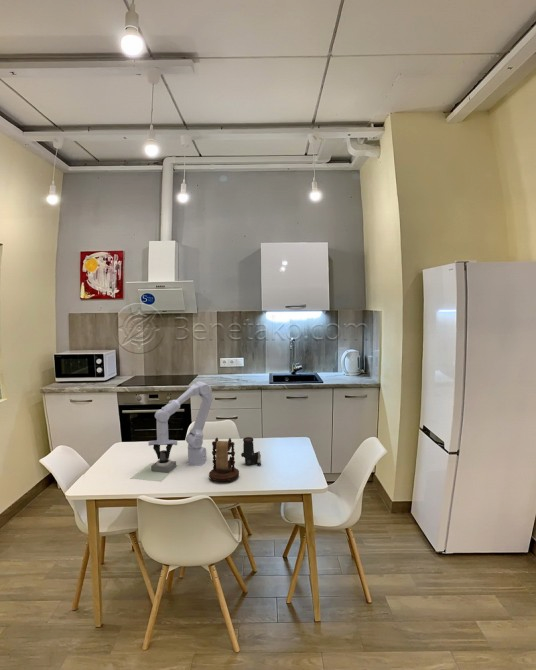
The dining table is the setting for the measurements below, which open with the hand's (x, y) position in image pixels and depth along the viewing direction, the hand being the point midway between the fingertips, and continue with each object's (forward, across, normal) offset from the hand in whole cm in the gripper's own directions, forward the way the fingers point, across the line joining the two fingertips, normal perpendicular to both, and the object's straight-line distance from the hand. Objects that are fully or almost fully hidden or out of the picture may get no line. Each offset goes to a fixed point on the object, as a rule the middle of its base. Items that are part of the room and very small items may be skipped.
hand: (163, 458), depth 215 cm
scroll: (+6, -32, +11) cm, 35 cm away
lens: (+2, 0, 0) cm, 2 cm away
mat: (+6, +3, +3) cm, 8 cm away
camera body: (+6, 0, 0) cm, 6 cm away
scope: (+6, -45, -6) cm, 46 cm away
